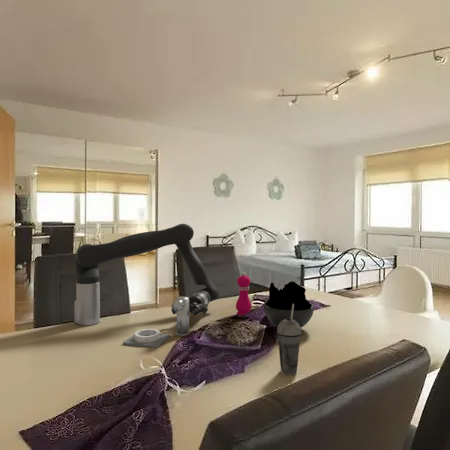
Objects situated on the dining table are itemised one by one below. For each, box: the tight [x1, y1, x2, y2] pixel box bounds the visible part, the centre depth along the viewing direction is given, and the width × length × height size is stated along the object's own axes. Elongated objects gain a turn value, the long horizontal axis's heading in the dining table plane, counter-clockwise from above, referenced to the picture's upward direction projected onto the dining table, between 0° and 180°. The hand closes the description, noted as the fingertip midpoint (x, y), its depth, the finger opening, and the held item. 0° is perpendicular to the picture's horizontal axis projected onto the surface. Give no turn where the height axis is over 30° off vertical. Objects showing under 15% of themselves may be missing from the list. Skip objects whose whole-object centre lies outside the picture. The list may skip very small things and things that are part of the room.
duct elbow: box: [171, 296, 190, 337], centre depth 139 cm, size 5×9×14 cm, turn 166°
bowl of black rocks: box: [263, 280, 315, 328], centre depth 147 cm, size 20×20×19 cm
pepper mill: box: [235, 271, 253, 316], centre depth 165 cm, size 7×7×20 cm
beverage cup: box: [276, 304, 303, 376], centre depth 107 cm, size 7×7×20 cm
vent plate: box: [122, 328, 171, 349], centre depth 133 cm, size 13×12×3 cm
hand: (183, 312), depth 142 cm, fingers open, 8 cm apart
